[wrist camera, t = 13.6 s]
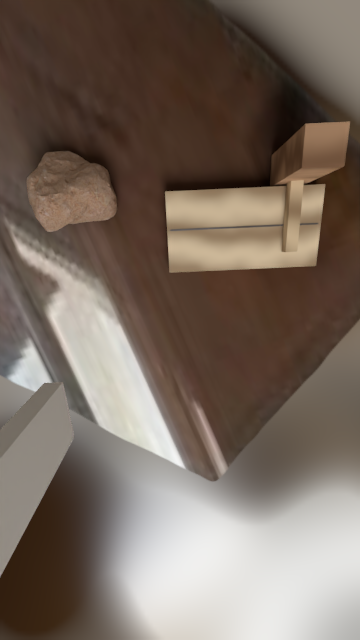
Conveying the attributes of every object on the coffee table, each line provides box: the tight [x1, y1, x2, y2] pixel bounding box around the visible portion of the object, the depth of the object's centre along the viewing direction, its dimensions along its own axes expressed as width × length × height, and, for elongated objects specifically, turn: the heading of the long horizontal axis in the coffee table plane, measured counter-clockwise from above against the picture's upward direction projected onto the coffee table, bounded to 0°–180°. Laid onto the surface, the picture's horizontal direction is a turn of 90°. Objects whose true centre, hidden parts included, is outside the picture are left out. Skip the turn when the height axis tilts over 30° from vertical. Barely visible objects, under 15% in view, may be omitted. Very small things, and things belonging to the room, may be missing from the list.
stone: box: [27, 151, 117, 232], centre depth 36 cm, size 12×9×10 cm
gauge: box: [270, 122, 350, 252], centre depth 35 cm, size 15×5×10 cm, turn 3°
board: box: [165, 184, 325, 273], centre depth 40 cm, size 12×24×3 cm, turn 93°
